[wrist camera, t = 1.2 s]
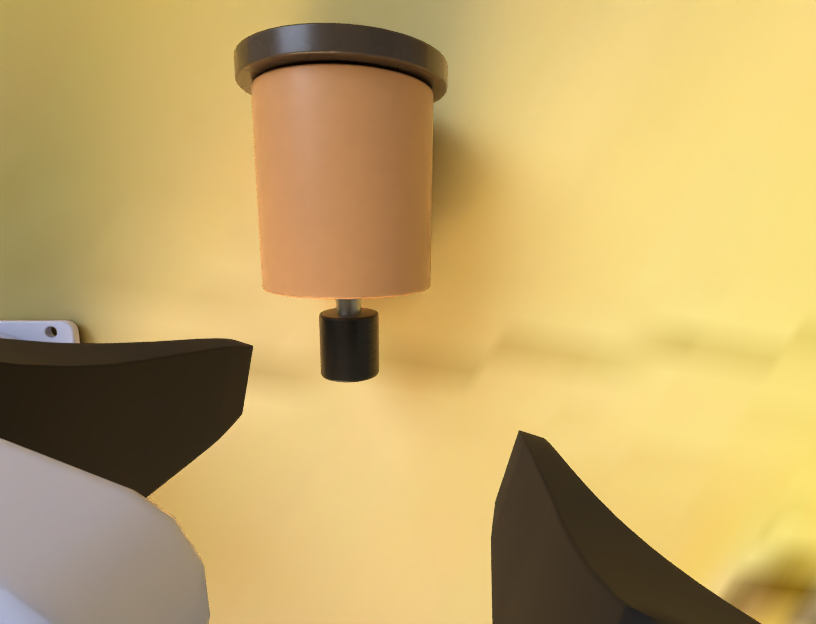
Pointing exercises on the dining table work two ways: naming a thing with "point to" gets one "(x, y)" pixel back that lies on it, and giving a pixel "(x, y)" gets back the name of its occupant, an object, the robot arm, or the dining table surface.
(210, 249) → the dining table surface
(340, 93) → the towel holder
